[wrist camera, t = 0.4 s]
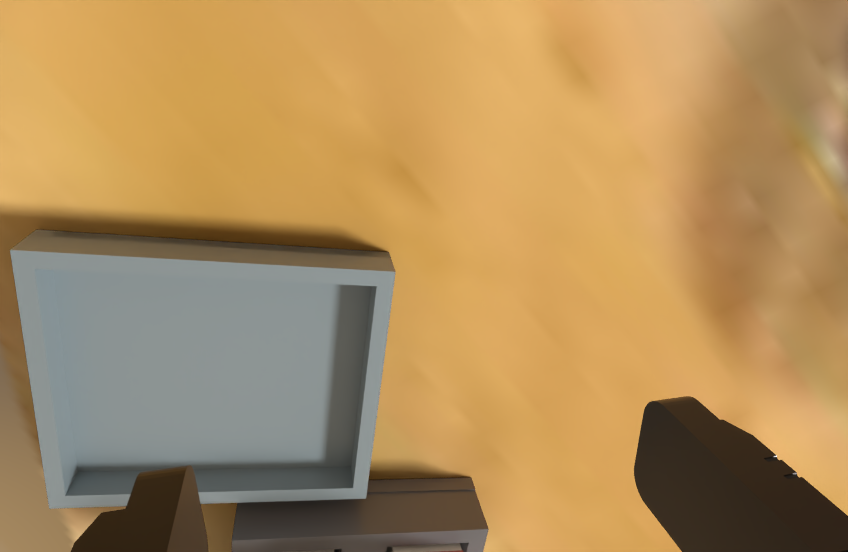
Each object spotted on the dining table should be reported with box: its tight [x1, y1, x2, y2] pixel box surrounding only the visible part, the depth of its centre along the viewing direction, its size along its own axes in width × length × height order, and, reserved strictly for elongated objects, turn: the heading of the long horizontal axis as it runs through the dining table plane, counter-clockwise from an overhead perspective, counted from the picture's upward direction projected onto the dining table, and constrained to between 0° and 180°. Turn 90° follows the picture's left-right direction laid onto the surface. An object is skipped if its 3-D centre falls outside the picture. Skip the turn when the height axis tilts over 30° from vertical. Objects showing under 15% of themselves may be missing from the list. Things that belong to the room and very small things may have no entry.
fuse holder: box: [232, 478, 488, 552], centre depth 35 cm, size 7×14×4 cm, turn 82°
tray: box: [10, 230, 395, 509], centre depth 29 cm, size 14×16×2 cm
